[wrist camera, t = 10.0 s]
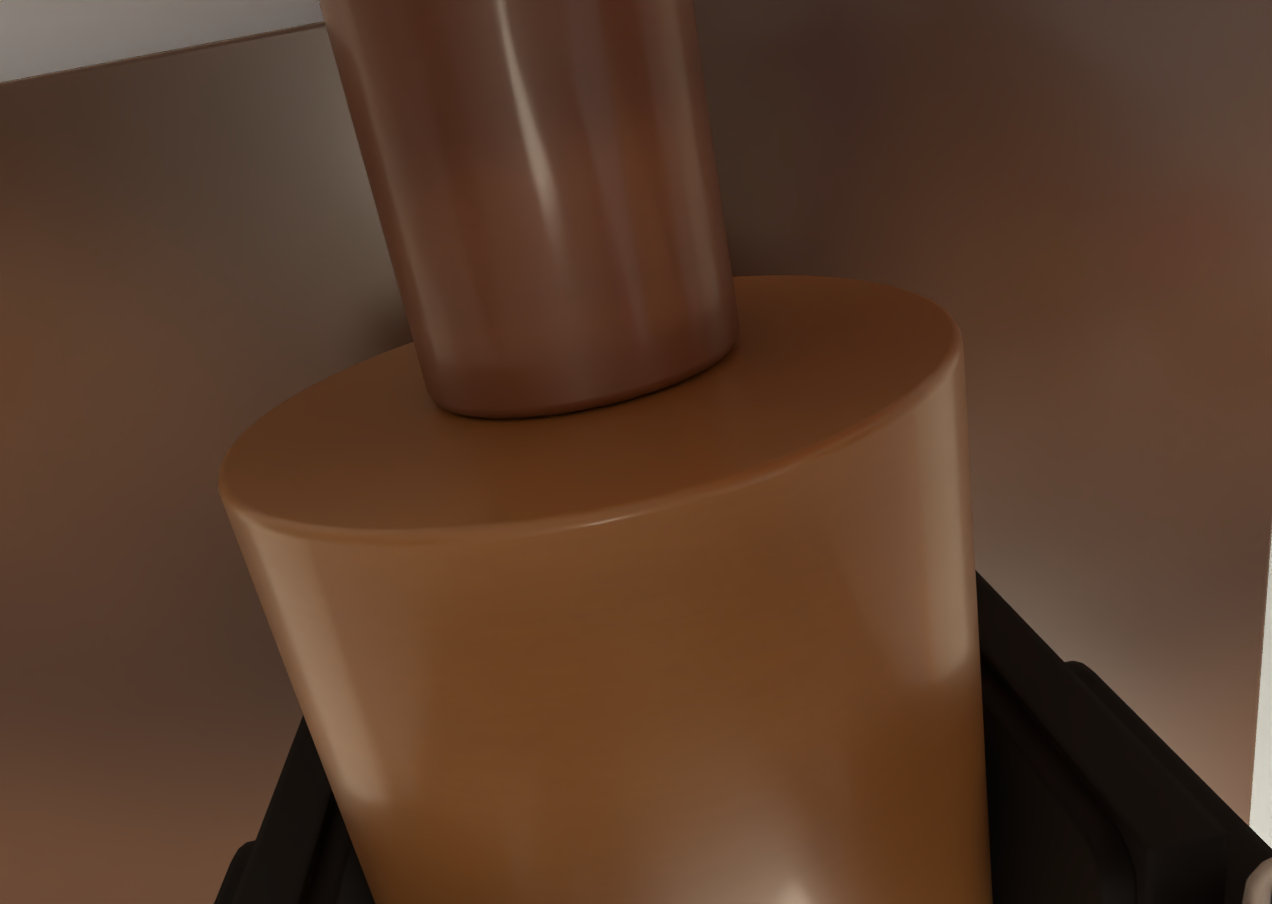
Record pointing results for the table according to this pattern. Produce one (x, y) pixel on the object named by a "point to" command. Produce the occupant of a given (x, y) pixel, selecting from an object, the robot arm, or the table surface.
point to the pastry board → (758, 246)
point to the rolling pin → (617, 506)
